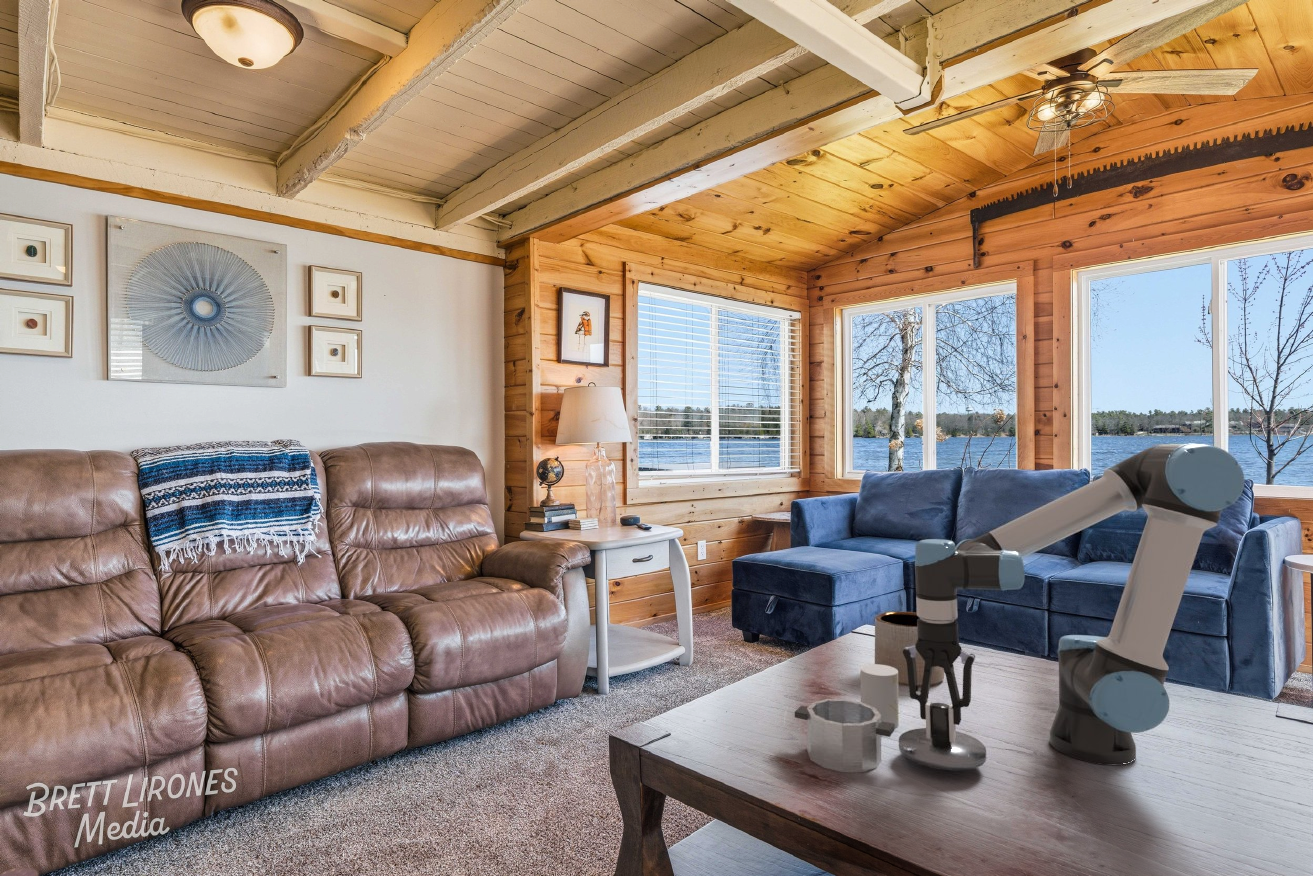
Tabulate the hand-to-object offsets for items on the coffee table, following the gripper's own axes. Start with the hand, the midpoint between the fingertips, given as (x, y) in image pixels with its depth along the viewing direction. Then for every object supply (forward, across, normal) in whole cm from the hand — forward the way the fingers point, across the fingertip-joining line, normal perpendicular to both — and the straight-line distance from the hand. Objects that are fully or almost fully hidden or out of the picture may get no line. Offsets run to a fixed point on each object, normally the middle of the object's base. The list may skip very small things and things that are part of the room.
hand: (941, 737), depth 140 cm
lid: (+3, 0, 0) cm, 3 cm away
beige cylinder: (+5, +16, -15) cm, 22 cm away
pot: (+5, +18, +6) cm, 19 cm away
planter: (+5, +17, -51) cm, 54 cm away
